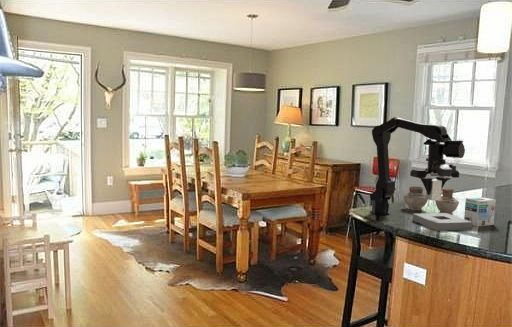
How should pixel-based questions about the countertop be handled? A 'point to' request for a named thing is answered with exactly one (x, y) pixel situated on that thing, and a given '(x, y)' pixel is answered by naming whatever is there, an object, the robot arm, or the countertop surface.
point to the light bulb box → (480, 211)
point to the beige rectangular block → (435, 190)
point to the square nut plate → (442, 221)
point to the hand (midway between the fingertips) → (433, 194)
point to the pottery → (418, 200)
